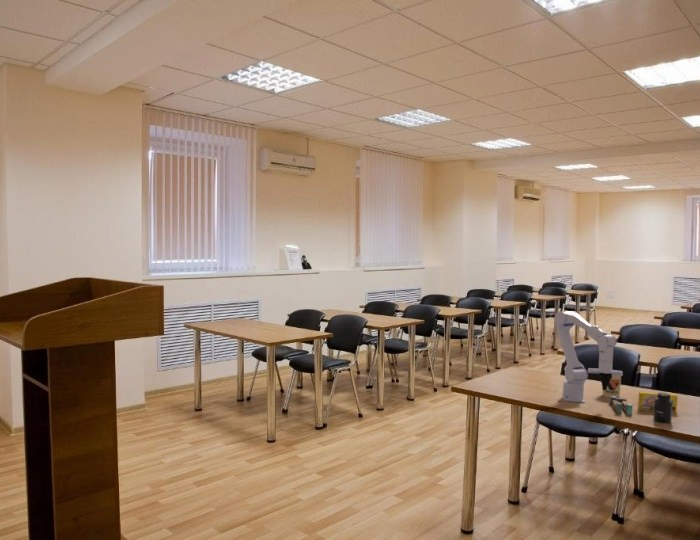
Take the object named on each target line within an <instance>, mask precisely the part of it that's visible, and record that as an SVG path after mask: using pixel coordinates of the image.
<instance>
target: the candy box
mask: <svg viewBox="0 0 700 540" xmlns="http://www.w3.org/2000/svg"><path fill="white" fill-rule="evenodd" d="M658 393H659V392H658ZM658 393H657V392H645V391H642V392H641V391H639V392H638V404H637V410H638V411H648V410H649V411H650V412H654V403H655V400H656V399H658V397H657V396H658ZM668 394H669V395H670V401H671V402H672V413H677V409H678V408H677V407H678V394H674V393H673V394H672V393H671V394H670V393H668ZM649 411H648V412H649Z"/></svg>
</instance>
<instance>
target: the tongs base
mask: <svg viewBox="0 0 700 540" xmlns="http://www.w3.org/2000/svg"><path fill="white" fill-rule="evenodd" d="M613 400H615V401H618V402H620V403H622V411H624V412H625V414H626V413H627V414H628V415H629V416H632V415H633V404H632V403H628V401H627V398H624V397H616V396H611V397H609V402H608V403H609V405H610V406H612V401H613ZM627 414H626V415H627Z"/></svg>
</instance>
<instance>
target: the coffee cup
mask: <svg viewBox="0 0 700 540" xmlns="http://www.w3.org/2000/svg"><path fill="white" fill-rule="evenodd" d="M621 383H622V376H620V375H612V378H611V380H610V381H609V383H608V386H607V389H606V390H603V389H602V388H601V389H602V396H603V397H607V398H610V397H611V396H616V397H617V398H620V393H621Z"/></svg>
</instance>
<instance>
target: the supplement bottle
mask: <svg viewBox="0 0 700 540" xmlns="http://www.w3.org/2000/svg"><path fill="white" fill-rule="evenodd" d="M669 394H670V393H665V392H658V396H657V397H658V399H656V400H655V403H654V411H653V420H654V421H655V422H658V423H661V424H670V423H671V422H672V419H673V418H672V414H673V412H672V402H671V401H670V395H669Z"/></svg>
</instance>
